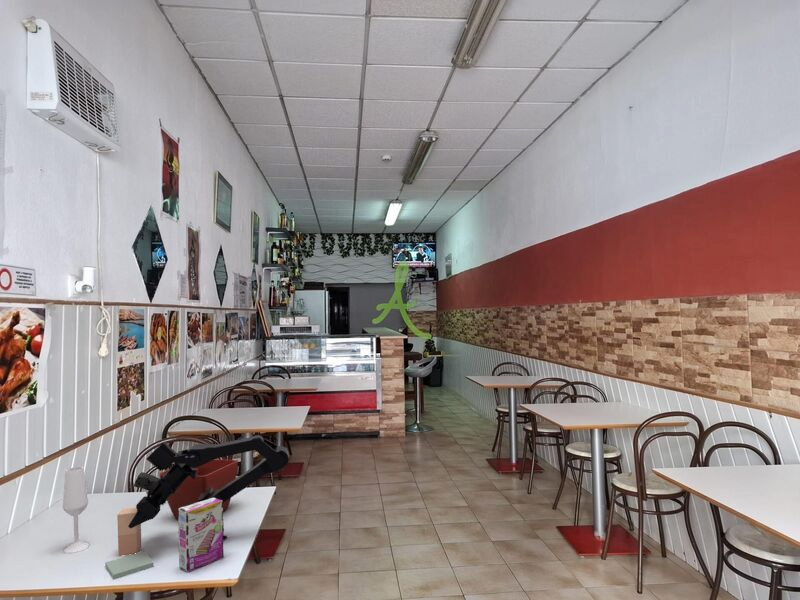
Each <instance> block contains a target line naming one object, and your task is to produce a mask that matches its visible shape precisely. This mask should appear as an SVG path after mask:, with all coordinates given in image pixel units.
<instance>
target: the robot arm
mask: <svg viewBox="0 0 800 600" xmlns="http://www.w3.org/2000/svg"><path fill="white" fill-rule="evenodd" d="M252 451H253V452H254V451H255V452H257V453H258V454H259V455H260V456H262V457H263V458H262V459H261V461H259V463H256V464H255V465H253V466H252V467H250V469H248V470H246V471H245V472H243V473H242V474H240V475H239V476H236V479H234V480H233V481H231V482H230V483H228V484H227V485H225V486H224V487H222V488H220V489H218V490H213V487H211V488H210V489H209V490H208V491H206V492H205V493H201V495H200V497H199V498H198V500H197V502H201V501H204V500H207V499H210V498H217V499H220V500H222V501H223V503H224V502H225V501H227V500H228V499H230V498H233V497H234V496H236V495H237V494H239V493H241V492H242V491H243V490H244V489H246V488H247V487H250V485H252V484H254V483H256V481H258V480H259V479H261V478H263V477H264V476H266V475H270V474H272V473H276V472H279V471H280V470H282V469H285V467H287V466H288V463H289V461H290V454H289V450H288V449H287V447H285V446H283V445H277V444H276V443H274V442H272V441H270V440H269V439H266V438H264V437H263V436H262V435H260V434H256V435H254V436H250V437H245V438H242V439H241V438H240V439H236V440H230V441H227V442H222V443H216V444H213V443H201V444H200V443H197V444H196V443H195V444H193V445H191V446H190V447H189V448H188V449H183V450H179V451H175V449H173V448H172V447H171V446H170V445H169V444H168V443H167V442H166V441H162V443H161V444H160V445H159V446H158V447H156V448H155V449H154V450H153V451H152V452H151V453H150V454H149V455H148V457H146V460H147V462H149V463H150V464H151V465H152V466H154V467H155V468H156V469H157V470H158V471H162V472H164V471H166V470H169V469H170V470H169V471H168V472H167V473H166V474H165V475H164V476H162V477H161V478H160V477H159V478H158V476H156V475H153V474H149V473H147V472H145V471H144V472H143V471H142V472H140V473H138V475H137V478H136V479H135V481H134V484H133V486H134V487H135V488H140V489H143V490H145V491H146V490H149V491H148V492H147V493H148V496H147V495H146V496H145V495H144V496H143V497H142V498H141V499H140V500H139V501H138V502H137V503H136V505H135V508H137V513H136V515H135V516H134V518H133V519H132V521H131V522H130V524H129V525H128V527H129V528H133V527H135V526H137V525H139V524H141V525H142V524H143V523H146V522H147V521H150V520H154V519H155V517H156V516H157V515H158V514H159V513H160V511H161V505H162V506H163V505H165V503H166V502H167V500H168V498H169V497H170V496H171V495H172V494H174V493H175V492H176V490H177V489H178V488H179V487H180V486H181V484H182V483H183V482H184V481H185V480H186V479H187V478H188V477H189V476H190V477H191V478H192V479H196V477H197V468H195V467H198V466H201V465H203V464H206V463H208V462H210V461H212V460H214V459H219V458H223V457H224V458H225V457H228V456H229V457H230V456H234V455H239V454H242V453H243V454H244V453H248V452H252ZM173 464H174V465H173ZM171 466H172V467H171ZM194 468H195V469H194ZM197 502H196V503H197ZM224 531H225V530H224V522H223V541H224V540H226V539H228V535H225V532H224Z"/></svg>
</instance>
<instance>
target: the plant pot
mask: <svg viewBox="0 0 800 600" xmlns="http://www.w3.org/2000/svg"><path fill="white" fill-rule="evenodd" d="M238 462H239V461H238V460H237V459H219V458H217V459H214V460H212V461H210V462H208V463H206V464H203V465H201V466H198V467H195V468H197V477H196V479H192V478H191V477H190V476H189V477H188V478H187V479H186V480H185V481H184V482H183V483H182V484H181V486H180V487H179V488H178V489H177V490H176V492H175V493H174V494H172V495H171V496H170V497H169V498H168V500H167V501H166V502H167V504H168V506H169V508H170V511H171V514H172V515H173V517H174V519H175V520H176V521H179V516H178V508H181V507H184V506H188V505H191V504H194V503H196V502H197V500H198V498H199V497H200V495H201V493H205V492H206V491H208V490H209V489H210V488H211V487H213V490H218V489H220V488H222V487H224V486H225V485H227V484H228V483H230V482H231V481H233V480H234V479H236V478H237V473H238V472H237V471H238V466H239V465H238V464H239V463H238ZM195 468H194V469H195ZM170 469H171V468H168V469H167V470H163V471H162V472H160V473H159V478H161V477H162V476H164V475H165V474H166V473H167V472H168V471H169V470H170ZM231 498H232V497H231ZM231 498H230V499H228V500H227V501H225V502H224V503H223V512H225V511H227V510H228V509H229V505H230V503H231V500H232V499H231Z"/></svg>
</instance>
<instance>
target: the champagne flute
mask: <svg viewBox="0 0 800 600" xmlns="http://www.w3.org/2000/svg"><path fill="white" fill-rule="evenodd" d="M64 472H65V473H64V486H63V499H62V509H63V511H64V512H65V513H66V514H67V515H70V516H71V517H73V540H74V541H73V542H72V543H71V544H69V546H67V547H66V548H65V549H64V550H63V552H64V553H66V554H67V553H68V554H71V553H78V552H81V551H84V550H86V549H88V548H89V546H90V543H86V542H83V541H81V540H79V539H80V538H79V536H80V533H79V516H80V515H81V514H82V513H83V512H84V510H86V509H87V506H88V505H89V498H88V491H87V482H86V475H85V470H84V466H73V467H69V468H67V469H65V471H64ZM77 551H78V552H77Z"/></svg>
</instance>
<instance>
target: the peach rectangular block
mask: <svg viewBox="0 0 800 600" xmlns="http://www.w3.org/2000/svg"><path fill="white" fill-rule="evenodd" d="M136 513H137V508H136V507H129V508H122V509H121V510H120V511H118V513H117V514H116V515H117V517H116V518H117V546H118V549H117V552H118V554H117V556H118V557H123V556H122V555H125V556H129V554H135V553H137V552H138V551H139V552H140V550H141V549H140V548H142V545H143V544H142V523H141V524H139V525H137V526H135V527H133V528H129V527H128V525H129V524H130V522H131V521H132V519H133V518H134V516H135V515H136ZM139 552H138V553H139Z"/></svg>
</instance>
